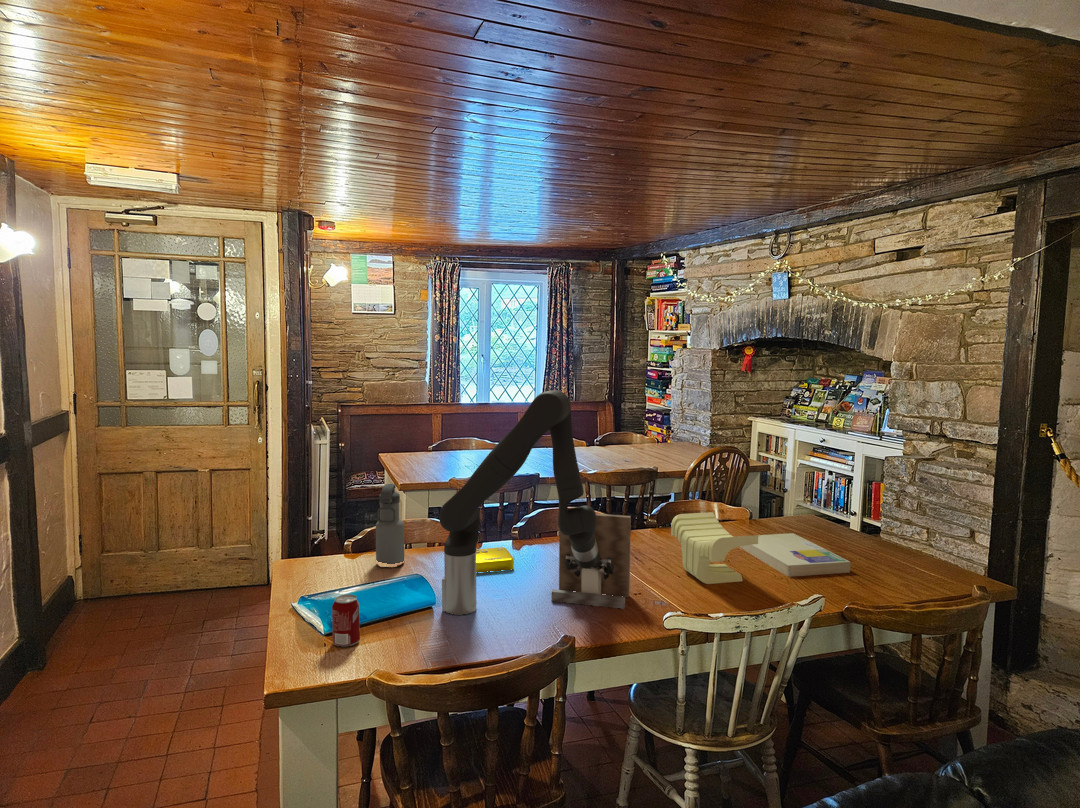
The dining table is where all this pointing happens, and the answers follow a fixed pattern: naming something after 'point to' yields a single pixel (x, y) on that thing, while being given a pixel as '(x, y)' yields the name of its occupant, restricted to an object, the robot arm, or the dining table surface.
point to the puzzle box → (796, 555)
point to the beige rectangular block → (591, 581)
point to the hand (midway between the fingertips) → (592, 575)
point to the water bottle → (389, 527)
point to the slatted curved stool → (707, 546)
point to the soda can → (345, 620)
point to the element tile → (493, 559)
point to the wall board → (613, 544)
